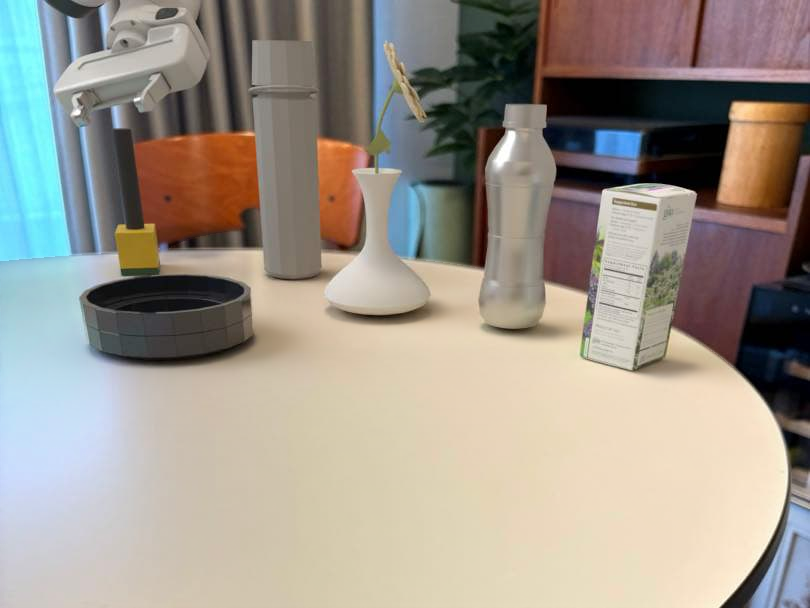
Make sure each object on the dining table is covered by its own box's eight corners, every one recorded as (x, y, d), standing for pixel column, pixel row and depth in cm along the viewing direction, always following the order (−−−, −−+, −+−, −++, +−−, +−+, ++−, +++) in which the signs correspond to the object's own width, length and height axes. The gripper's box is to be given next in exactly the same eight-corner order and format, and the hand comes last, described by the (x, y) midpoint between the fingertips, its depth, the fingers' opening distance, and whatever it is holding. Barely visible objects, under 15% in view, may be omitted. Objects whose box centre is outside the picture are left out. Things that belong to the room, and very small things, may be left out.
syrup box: (613, 345, 79) (636, 180, 72) (668, 359, 75) (699, 187, 68) (578, 357, 75) (599, 186, 68) (634, 373, 72) (662, 193, 65)
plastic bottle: (547, 336, 81) (570, 107, 71) (478, 335, 81) (491, 105, 71) (539, 319, 87) (559, 103, 77) (474, 318, 87) (486, 102, 77)
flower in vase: (410, 329, 83) (416, 37, 70) (307, 317, 86) (294, 36, 73) (447, 299, 94) (457, 41, 81) (353, 290, 97) (349, 40, 84)
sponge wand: (121, 275, 102) (98, 130, 94) (124, 265, 107) (103, 127, 99) (159, 274, 102) (140, 130, 94) (160, 264, 107) (142, 127, 99)
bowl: (102, 374, 70) (93, 321, 67) (78, 328, 82) (70, 281, 79) (275, 352, 76) (271, 303, 73) (229, 312, 87) (225, 268, 85)
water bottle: (329, 279, 101) (321, 41, 88) (264, 282, 99) (247, 39, 87) (318, 264, 109) (310, 42, 96) (258, 266, 107) (242, 41, 95)
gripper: (63, 40, 108) (25, 107, 102) (197, 4, 102) (165, 73, 95) (93, 85, 114) (58, 151, 107) (222, 53, 107) (193, 122, 100)
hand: (109, 114), depth 101 cm, fingers open, 8 cm apart
